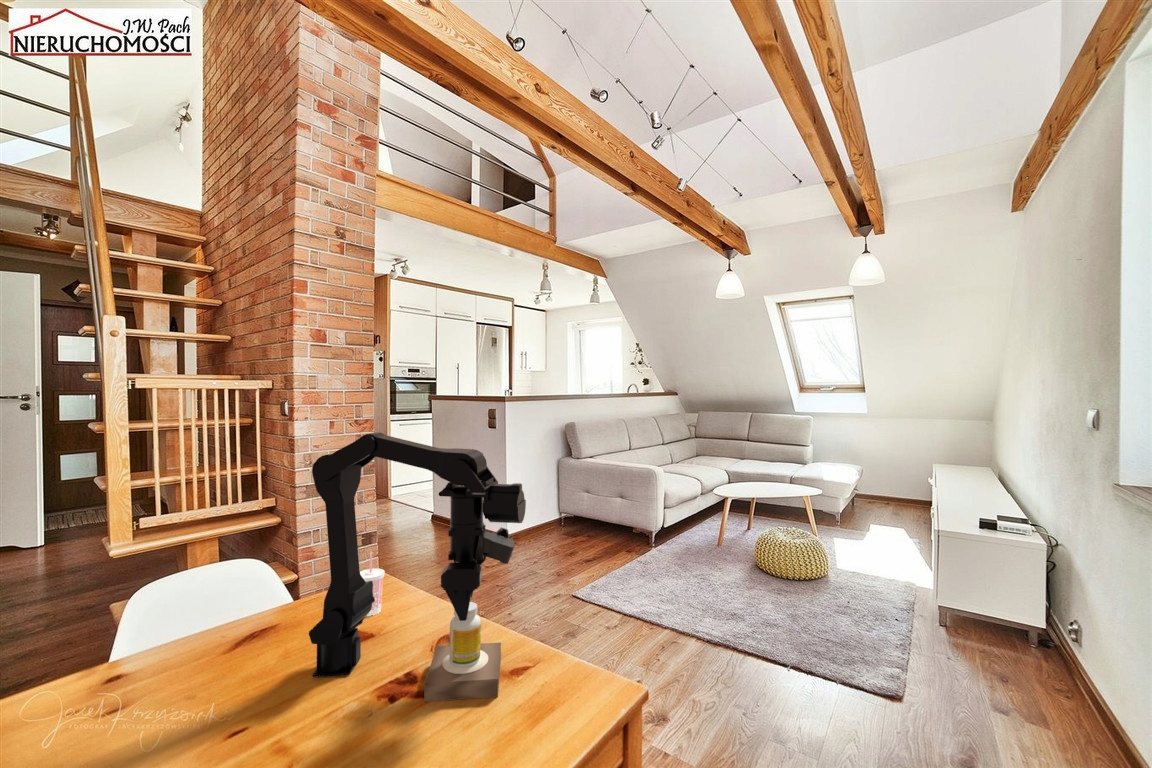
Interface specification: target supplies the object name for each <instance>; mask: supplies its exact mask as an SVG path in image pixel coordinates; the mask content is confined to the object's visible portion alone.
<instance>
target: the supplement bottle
mask: <svg viewBox="0 0 1152 768" xmlns="http://www.w3.org/2000/svg"><path fill="white" fill-rule="evenodd" d="M453 615H454V616H453V617H452V618H451V620H450V623H449V645H450V663H451V664H452V665H453V666H455V667H461V668H465V667H470V666H472V665H474V664H476V663H477V662H478V661H479V659H480V644H481V635H482V634H481V630H482V629H481V627H482V625H481V624H482V623H481V620H482V619H481V617H480V616H479V615H478V604H477V603H476V602H472V601H470V604H469V609H468V615H467V619H466V620H465V621H460V620H459V618H458V615H457V613H456V611H455V609H454V608H453Z"/></svg>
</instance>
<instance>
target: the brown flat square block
mask: <svg viewBox="0 0 1152 768" xmlns="http://www.w3.org/2000/svg"><path fill="white" fill-rule="evenodd" d="M501 660H502V642H485V643H481V642H480V659H479V661H478V662H477V663H476V664H474V665H472V666H470V667H465V668H461V667H455V666H453V665H452V664H451V663H450V644H445V645H444V644H443V645H436V648H435V650H434V654H433V656H432V660H431V663H430V666H429V669H428V672H427V675H426V678H425V681H424V683H423V684H424V688H423V690H424V694H423V696H424V699H423V701H424V702H440V701H441V702H442V701H454V700H455V701H456V700H471V699H486V698H487V699H488V698H498V696H499V688H500V687H499V684H500V674H501V673H500V671H501V664H502V663H501Z"/></svg>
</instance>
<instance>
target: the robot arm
mask: <svg viewBox="0 0 1152 768" xmlns="http://www.w3.org/2000/svg"><path fill="white" fill-rule="evenodd" d="M376 457H377V458H380V459H385V460H386V461H387V460H388V461H392V462H395V463H396V462H397V463H400V464H403V465H407V466H410V467H411V466H412V467H415V468H420V469H424V470H427V471H430V472H432V473H434V474H435V475H437V476H438V478H440V479H442V480H444V481H447V483H446V485H445V487H444V488H443V489H442V490H441V491H439V492H438V496H439V497H445V498H447V497H449V498H450V510H449V511H450V518H449V519H450V520H449V521H450V527H449V529H448V537H449V540H450V541H449V544H450V545H449V548H450V550H449V552H448V556H447V558H448V561H453V562H449V563H448V564H447V565H446V566H445V567H444V568H443V570H442V573H441V575H440V588H442V590H443V591H445V593H446V595H447V597H448V599H449V601H450V602H451V605H452V607H453V610H454V609H455V611H456V613H457V615H458V618H459V620H460V621H465V620H466V619H467V615H468V609H469V604H470V602H471V598H473V593H474V591H476V590H478V589H479V588H480V586H481V583H482V566H481V565H482V564H483V563H484V562H486V558H489V559H493V560H495V561H498V562H500V563H501V564H504V565H507V564H509V562H510V560H511V557H512V554H513V552H514V548H515V540H514V539H513V538H512V537H510V535H509V529H507V528H504V527H499V529H498V530H497V531H496V532H495V531H492V532H489V531H487V530H486V524H485V522H484V519H485V520H488V521H489V523H506V524H508V523H510V524H522V523H523V521H524V519H525V514H526V509H527V508H526V506H527V500H526V498H525V493H524V491H523V484H522V483H520V482H519V483H518V482H517V483H516V482H515V483H510V484H506V483H499V481H498V480H497V478H496V477H495V475H494V474H493V472H492V471H491V470H490V468H489V467H488V464H487V459H486V456H485V455H484V453H483V452H482V451H480V450H478V449H473V448H443V447H442V448H441V447H435V446H432V445H427V444H423V443H421V442H419V443H418V442H415V441H411V440H406V439H402V438H398V437H394V436H390V435H388V434H387V435H386V434H385V433H382V432H372V433H366V434H363V435H362V436H360V437H359V438H358V439H356V440H354V441H353V442H351V443H349V444H347V445H346V446H344V447H342V448H340V449H338V450H336V451H334V452H332V453H329V454H323V455H320V457H318V458H317V459H316V460H315V462H314V463H313V464H312V467H311V474H312V478H313V482H314V487H315V490H316V492H317V493H318V495H319V496H320V498H321V499H322V501H323V502H324V505H325V515H326V516H325V518H326V530H327V545H328V558H329V571H330V583H329V587H328V589H327V592H326V595H325V596H324V600H323V609H322V618H321V619H320V620H319V621H318V623H316V624H315V625H314V627H312V628H311V629H310V631H308V637H309V640H310V642H311V644H312V645H316V668H315V670H314V671H313V672H312V678H322V677H339V676H341V677H342V676H343V677H344V676H350V675H352V672H353V670H354V668H355V667H356V666H357V665H358V663H359V662H360V659H362V657H361V652H362V651H361V649H362V646H361V645H362V640H361V639H362V638H361V637H360V636H359V629H358V627H359V626H360V625H362V624H363V622H364V620H365V619H364V618H365V616H367V614H368V613H369V612H370V611H371V608H372V603H373V602H374V601H375V599H374V597H373V582H372V581H368V582H365V580H364V579H363V578H362V576H361V575H360V571H361V569H360V560H359V557H360V556H359V545H358V533H357V531H358V530H357V519H356V505H355V496H356V494H357V491H358V488H359V486H360V482H361V475H362V468H364V467H366V466H367V465H369V464H370V463H371V462H372V461H374V459H376ZM367 617H368V616H367Z"/></svg>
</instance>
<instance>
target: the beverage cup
mask: <svg viewBox="0 0 1152 768" xmlns="http://www.w3.org/2000/svg"><path fill="white" fill-rule="evenodd" d="M385 573H386V572H385V570H384V569H382V568H373V550H370V551H369V568H368V569H367V568H366V569H364V570H360V575H361V576H362V578H363V579H364V580H365V582H368V581H372V582H373V597H374V599H375V601H374V602H373V603H372V608H371V611H370V612H369V613H368V614H367V617H372V616H371V615H373V616H375V614H376V615H378V614H379V612H380V613H381V612H382V611H381V610H382V604H383V603H382V600H383V590H384V589H383V588H384V587H383V586H384V577H385ZM377 613H378V614H377Z"/></svg>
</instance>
